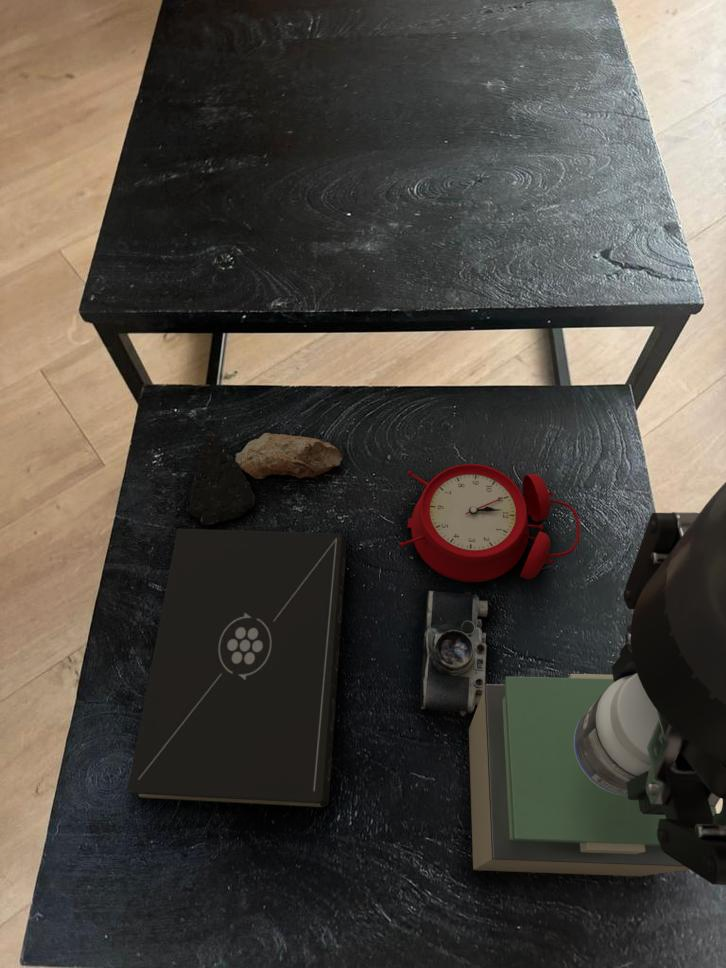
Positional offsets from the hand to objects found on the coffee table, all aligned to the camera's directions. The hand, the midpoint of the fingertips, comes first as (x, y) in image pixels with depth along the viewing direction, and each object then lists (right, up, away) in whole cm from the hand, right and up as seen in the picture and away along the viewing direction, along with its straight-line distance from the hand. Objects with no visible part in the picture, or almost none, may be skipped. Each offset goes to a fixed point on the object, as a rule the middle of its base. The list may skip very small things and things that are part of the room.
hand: (641, 731), depth 36 cm
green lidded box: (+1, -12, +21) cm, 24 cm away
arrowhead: (-26, +8, +33) cm, 43 cm away
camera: (-6, -2, +27) cm, 28 cm away
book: (-23, -3, +27) cm, 36 cm away
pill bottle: (0, -2, +4) cm, 5 cm away
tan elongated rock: (-20, +14, +37) cm, 44 cm away
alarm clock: (-2, +7, +32) cm, 33 cm away
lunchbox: (0, -5, +9) cm, 11 cm away
